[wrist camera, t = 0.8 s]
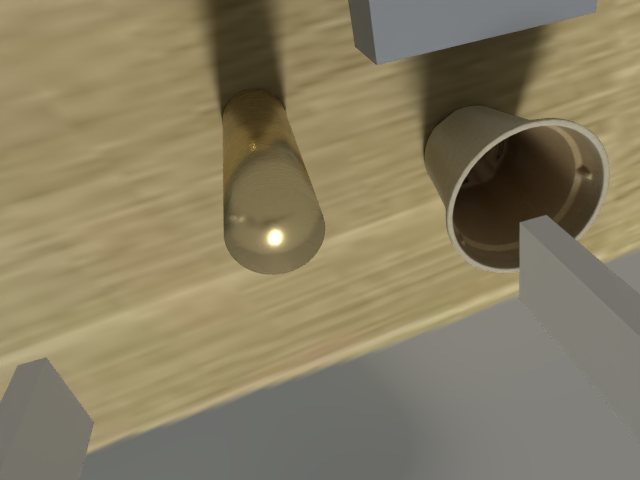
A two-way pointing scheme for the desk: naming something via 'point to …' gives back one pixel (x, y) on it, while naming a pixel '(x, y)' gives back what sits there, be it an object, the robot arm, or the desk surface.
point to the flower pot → (513, 180)
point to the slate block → (448, 22)
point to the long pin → (266, 188)
